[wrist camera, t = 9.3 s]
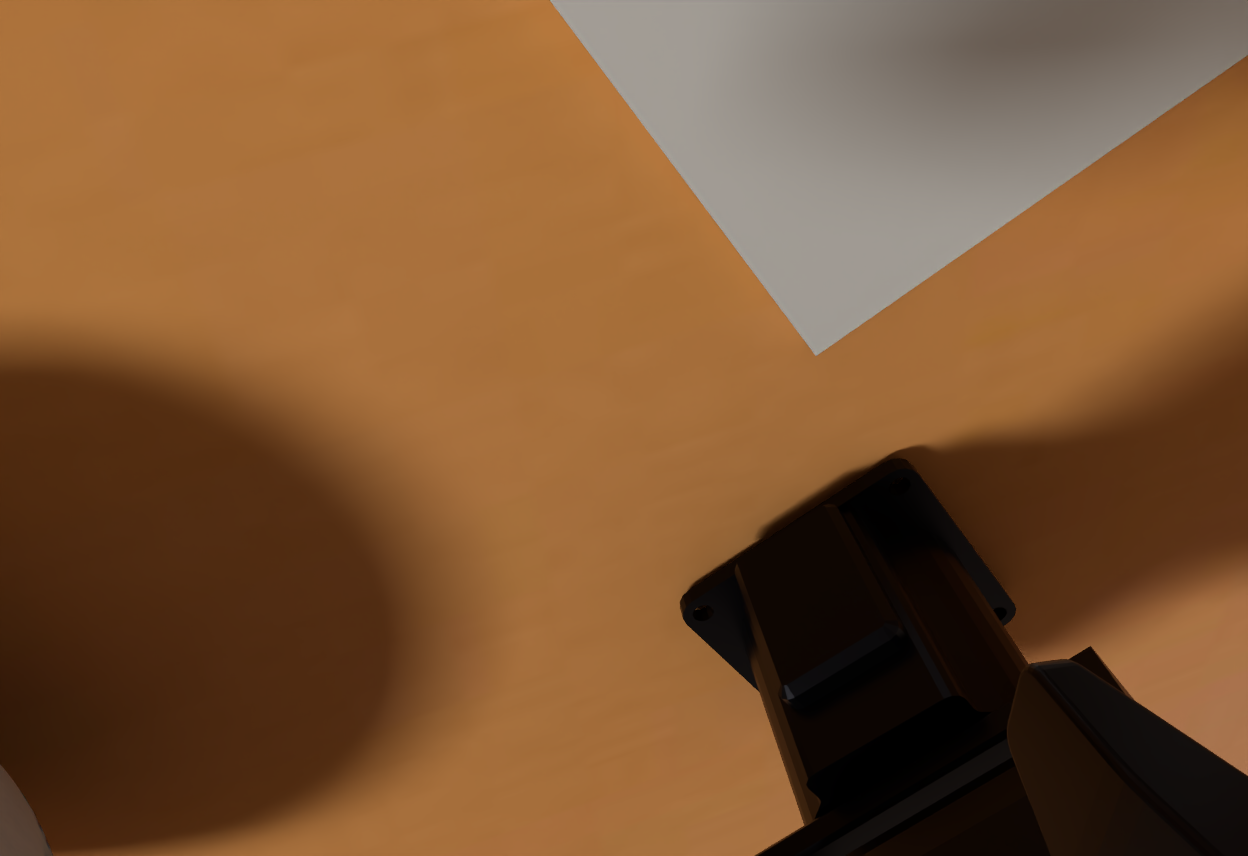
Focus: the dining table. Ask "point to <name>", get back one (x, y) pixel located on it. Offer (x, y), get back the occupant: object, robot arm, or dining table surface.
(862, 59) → the grey mat
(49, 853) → the chinaware
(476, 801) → the dining table surface
